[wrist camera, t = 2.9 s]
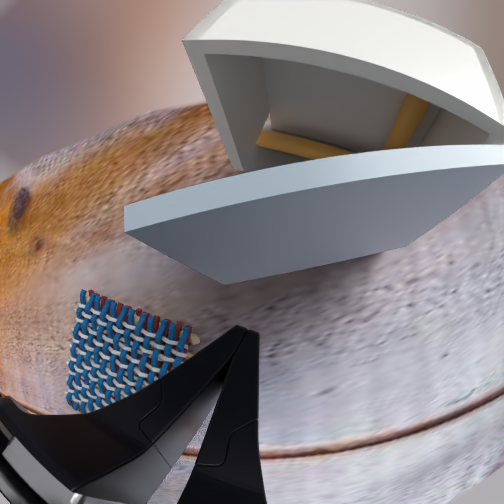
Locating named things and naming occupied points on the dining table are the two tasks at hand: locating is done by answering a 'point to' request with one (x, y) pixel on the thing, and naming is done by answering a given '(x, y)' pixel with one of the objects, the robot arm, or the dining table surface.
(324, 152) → the box
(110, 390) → the woven mat
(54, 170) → the dining table surface
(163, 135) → the dining table surface
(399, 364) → the dining table surface
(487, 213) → the dining table surface
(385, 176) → the box door
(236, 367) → the robot arm
